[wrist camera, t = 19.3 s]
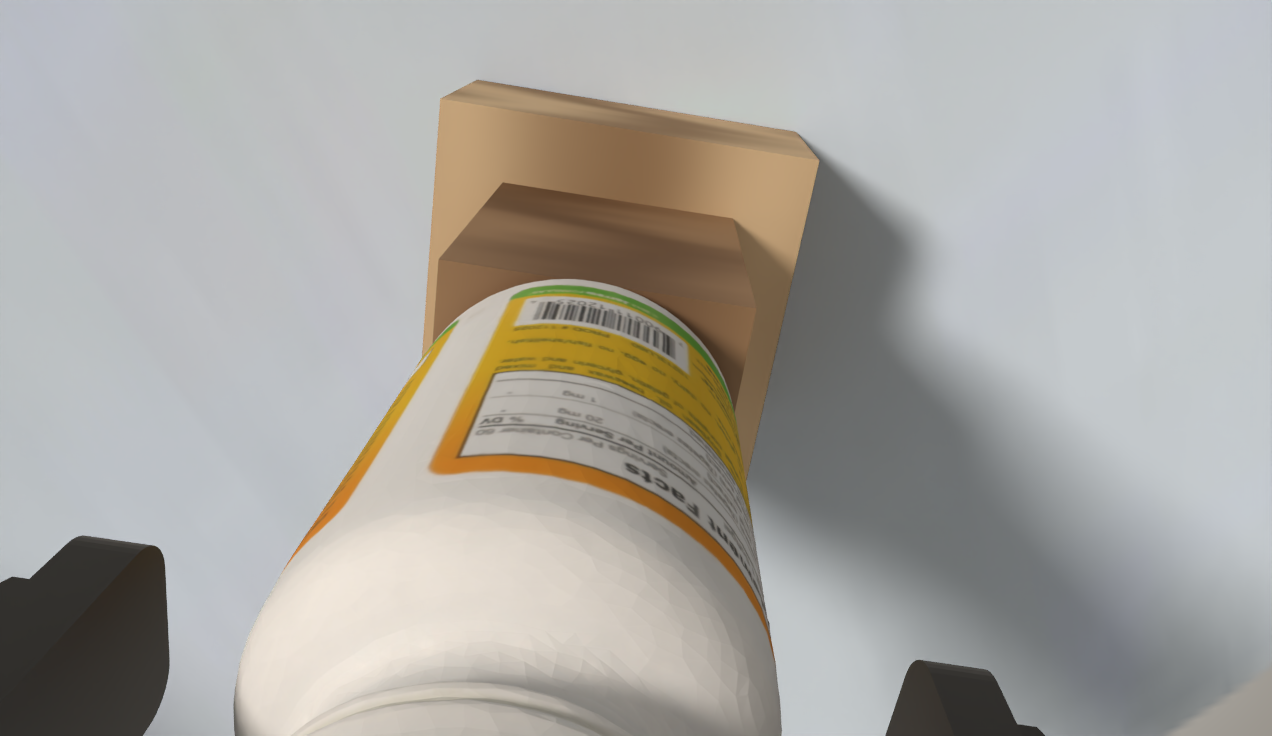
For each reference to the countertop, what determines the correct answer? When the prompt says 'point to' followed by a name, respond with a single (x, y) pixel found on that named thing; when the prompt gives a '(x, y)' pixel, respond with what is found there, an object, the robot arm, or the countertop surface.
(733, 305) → the walnut block
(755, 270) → the oak pedestal
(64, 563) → the robot arm
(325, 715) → the supplement bottle
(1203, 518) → the countertop surface
